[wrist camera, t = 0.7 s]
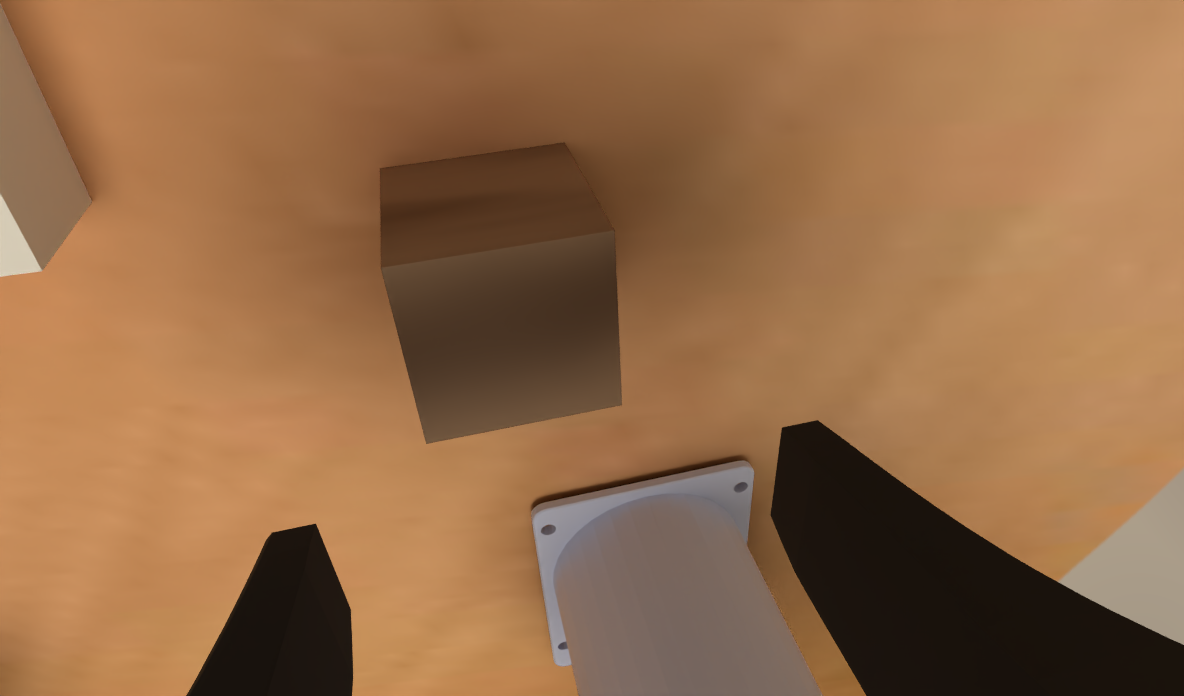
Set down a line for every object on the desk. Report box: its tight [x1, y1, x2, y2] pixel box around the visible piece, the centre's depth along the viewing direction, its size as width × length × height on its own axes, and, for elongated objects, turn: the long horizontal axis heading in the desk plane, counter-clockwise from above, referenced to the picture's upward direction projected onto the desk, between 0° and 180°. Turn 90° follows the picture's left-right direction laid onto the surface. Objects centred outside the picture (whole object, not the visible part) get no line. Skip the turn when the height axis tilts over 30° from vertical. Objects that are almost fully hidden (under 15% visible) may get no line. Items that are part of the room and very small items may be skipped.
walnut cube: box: [380, 143, 622, 444], centre depth 18 cm, size 4×4×5 cm
